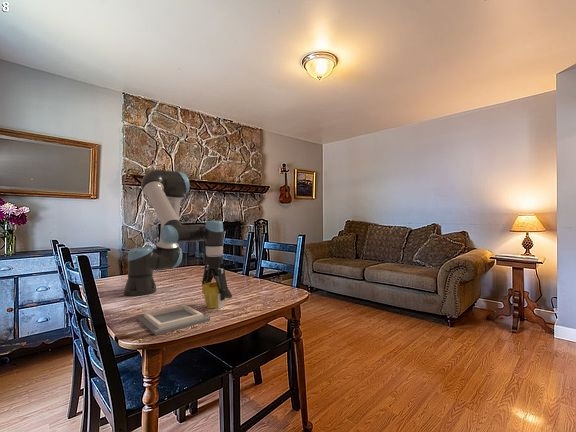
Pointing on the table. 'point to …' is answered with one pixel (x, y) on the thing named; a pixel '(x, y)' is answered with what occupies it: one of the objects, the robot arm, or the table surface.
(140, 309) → the table surface
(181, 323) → the board
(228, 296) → the phone
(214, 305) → the plant pot
